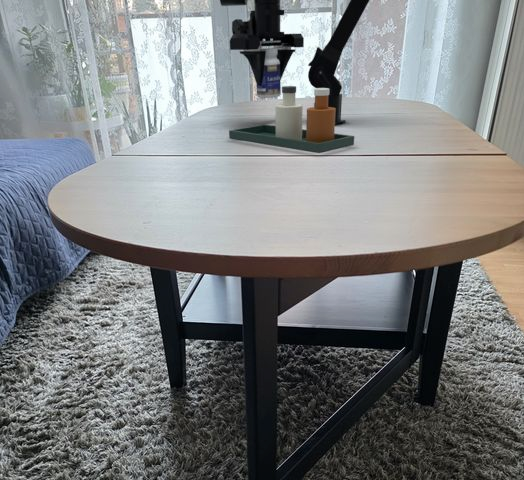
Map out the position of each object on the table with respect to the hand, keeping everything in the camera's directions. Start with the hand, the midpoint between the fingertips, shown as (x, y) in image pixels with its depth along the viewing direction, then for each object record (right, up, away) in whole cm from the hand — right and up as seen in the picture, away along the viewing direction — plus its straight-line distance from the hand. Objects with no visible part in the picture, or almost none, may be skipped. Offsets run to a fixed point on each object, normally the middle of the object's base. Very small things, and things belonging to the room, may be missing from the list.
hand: (268, 84), depth 120 cm
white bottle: (+4, -22, -20) cm, 29 cm away
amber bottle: (+9, -24, -24) cm, 36 cm away
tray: (+4, -22, -19) cm, 29 cm away
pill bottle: (0, -2, +2) cm, 3 cm away
